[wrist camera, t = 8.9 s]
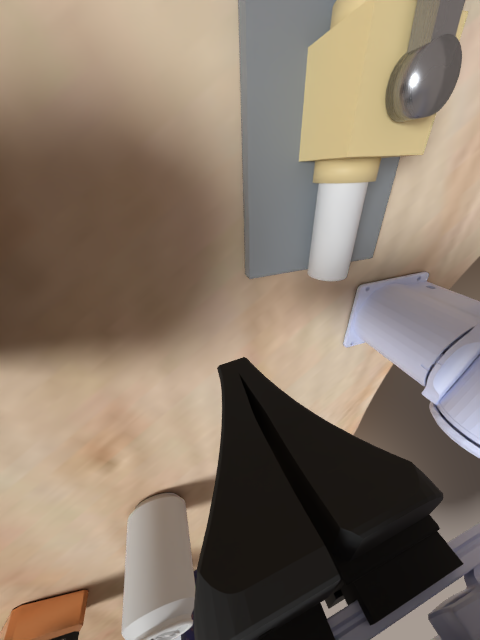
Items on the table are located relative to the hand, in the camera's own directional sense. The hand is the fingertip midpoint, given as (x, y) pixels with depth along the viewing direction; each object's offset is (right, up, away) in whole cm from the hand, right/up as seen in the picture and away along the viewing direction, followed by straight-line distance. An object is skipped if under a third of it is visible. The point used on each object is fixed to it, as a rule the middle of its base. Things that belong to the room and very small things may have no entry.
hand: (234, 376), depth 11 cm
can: (-11, -23, +22) cm, 34 cm away
